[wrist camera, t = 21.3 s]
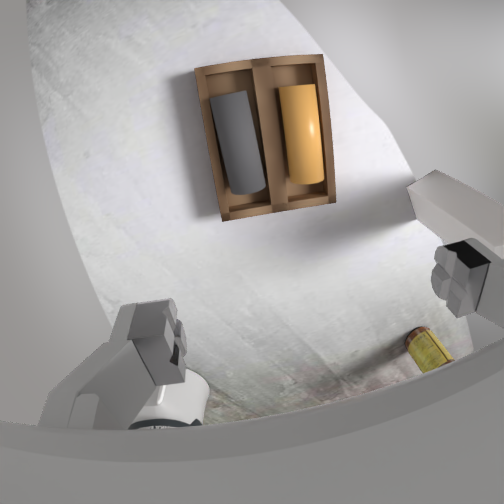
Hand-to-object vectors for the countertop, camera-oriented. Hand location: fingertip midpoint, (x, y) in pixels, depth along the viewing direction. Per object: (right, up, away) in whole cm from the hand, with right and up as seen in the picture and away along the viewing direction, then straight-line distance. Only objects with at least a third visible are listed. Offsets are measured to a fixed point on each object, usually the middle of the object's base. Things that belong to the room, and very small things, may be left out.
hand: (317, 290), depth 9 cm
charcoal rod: (-3, +14, +26) cm, 30 cm away
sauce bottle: (+31, -16, +48) cm, 59 cm away
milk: (+24, +10, +34) cm, 42 cm away
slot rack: (0, +15, +27) cm, 31 cm away
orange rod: (+4, +15, +27) cm, 31 cm away
